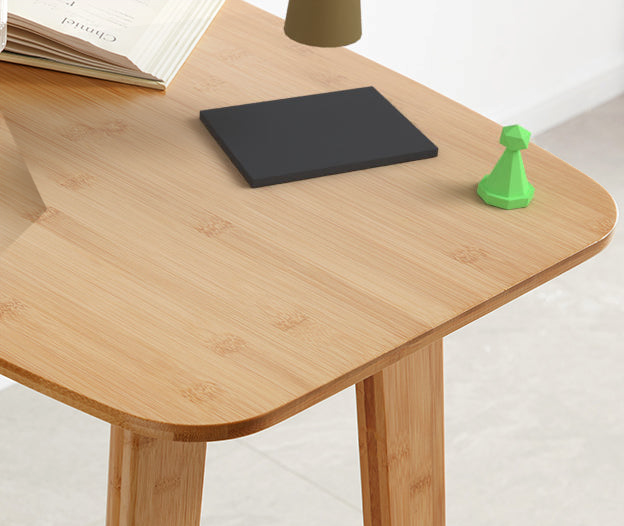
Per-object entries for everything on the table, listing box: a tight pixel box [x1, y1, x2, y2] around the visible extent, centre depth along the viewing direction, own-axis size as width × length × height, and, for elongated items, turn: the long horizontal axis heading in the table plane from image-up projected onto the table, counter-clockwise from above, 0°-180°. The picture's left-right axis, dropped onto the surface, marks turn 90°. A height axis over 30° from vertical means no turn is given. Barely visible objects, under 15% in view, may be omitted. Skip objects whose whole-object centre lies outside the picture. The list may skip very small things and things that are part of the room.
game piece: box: [476, 124, 536, 210], centre depth 85 cm, size 4×4×6 cm
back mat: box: [199, 85, 439, 189], centre depth 92 cm, size 16×12×1 cm
